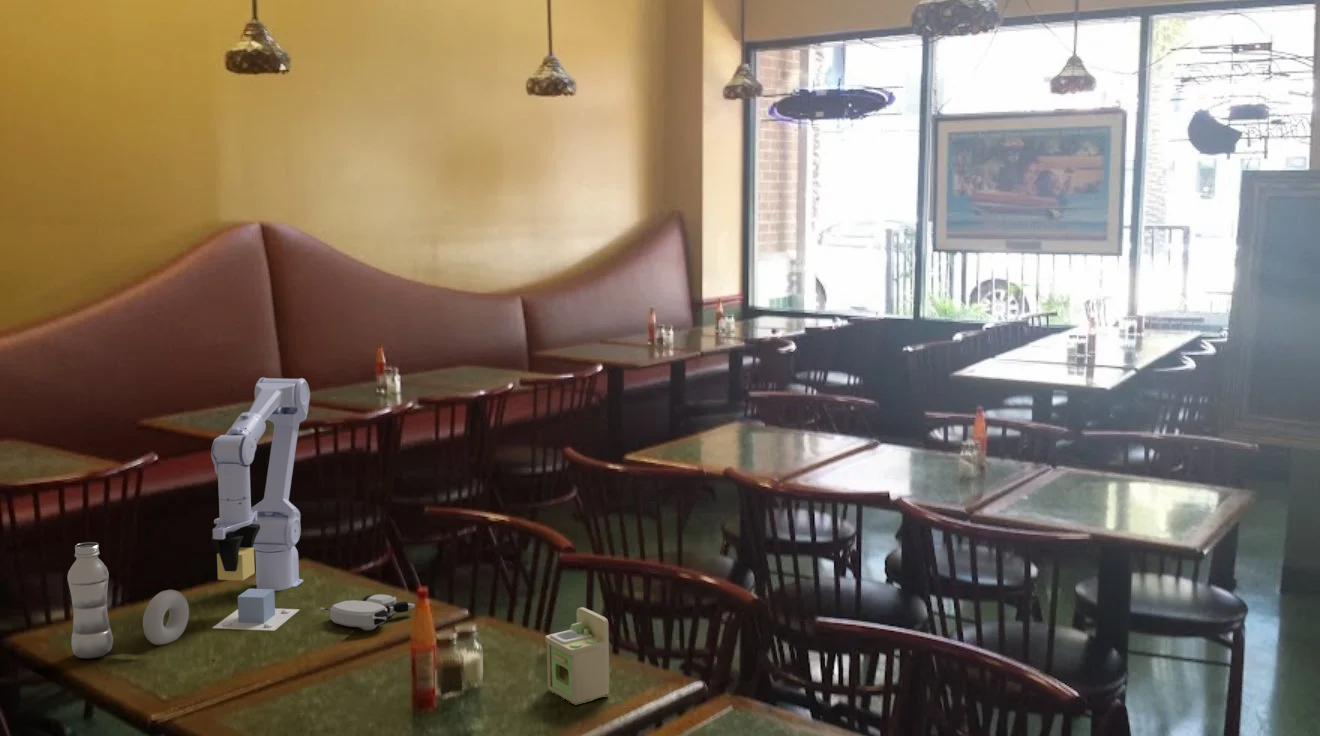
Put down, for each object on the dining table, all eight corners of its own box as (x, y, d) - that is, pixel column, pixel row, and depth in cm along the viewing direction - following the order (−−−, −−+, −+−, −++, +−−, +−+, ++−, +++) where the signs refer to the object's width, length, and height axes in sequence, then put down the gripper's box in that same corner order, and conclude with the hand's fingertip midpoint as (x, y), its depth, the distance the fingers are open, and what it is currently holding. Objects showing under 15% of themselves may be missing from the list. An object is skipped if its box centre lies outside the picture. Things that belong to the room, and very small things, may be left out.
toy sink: (543, 691, 194) (542, 613, 193) (580, 680, 199) (580, 605, 197) (571, 708, 188) (571, 628, 186) (610, 697, 192) (610, 619, 190)
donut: (155, 655, 209) (152, 600, 208) (139, 652, 210) (136, 597, 209) (194, 636, 218) (192, 583, 217) (179, 634, 219) (176, 581, 218)
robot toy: (367, 611, 236) (317, 628, 222) (368, 588, 236) (318, 605, 222) (419, 619, 231) (371, 638, 218) (419, 596, 231) (371, 614, 217)
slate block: (250, 613, 228) (249, 588, 228) (275, 614, 228) (274, 589, 227) (238, 622, 224) (237, 596, 223) (264, 623, 223) (263, 597, 222)
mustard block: (230, 572, 231) (229, 546, 230) (254, 572, 230) (253, 547, 230) (217, 579, 226) (216, 553, 225) (243, 580, 225) (242, 554, 225)
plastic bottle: (97, 664, 204) (91, 551, 202) (63, 661, 206) (56, 548, 203) (121, 651, 210) (116, 541, 208) (88, 648, 212) (82, 539, 209)
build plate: (240, 611, 232) (240, 605, 232) (300, 613, 231) (299, 607, 231) (212, 632, 221) (212, 626, 220) (274, 634, 219) (274, 628, 219)
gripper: (232, 488, 234) (234, 555, 235) (196, 505, 219) (198, 576, 221) (266, 489, 233) (268, 556, 235) (232, 506, 219) (235, 578, 220)
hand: (237, 566), depth 228 cm, fingers closed on mustard block, 5 cm apart
